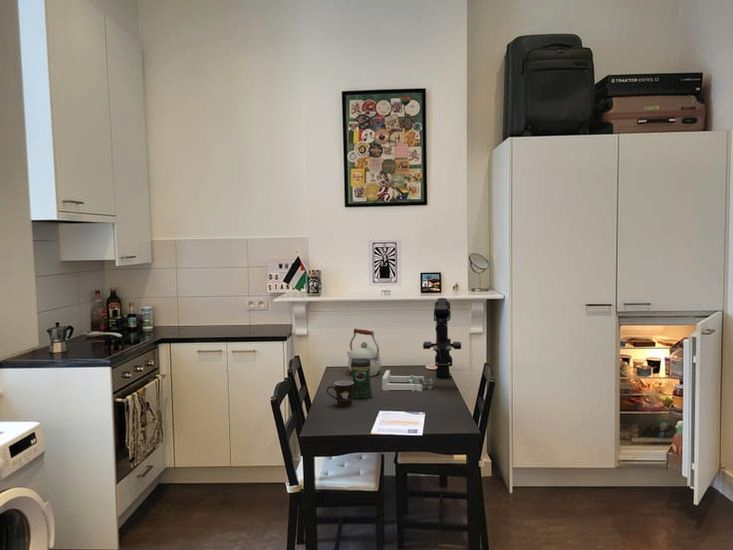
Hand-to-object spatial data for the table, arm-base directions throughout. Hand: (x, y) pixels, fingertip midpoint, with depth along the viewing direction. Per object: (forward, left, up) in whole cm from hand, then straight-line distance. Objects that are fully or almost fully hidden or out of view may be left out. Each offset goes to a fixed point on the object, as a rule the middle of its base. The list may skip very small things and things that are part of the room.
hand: (442, 362), depth 267 cm
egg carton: (+9, 0, -13) cm, 16 cm away
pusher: (+16, 0, -12) cm, 20 cm away
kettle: (+45, -25, -13) cm, 53 cm away
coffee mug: (+45, +33, -13) cm, 57 cm away
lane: (+21, 0, -12) cm, 24 cm away
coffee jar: (+38, +20, -13) cm, 45 cm away
